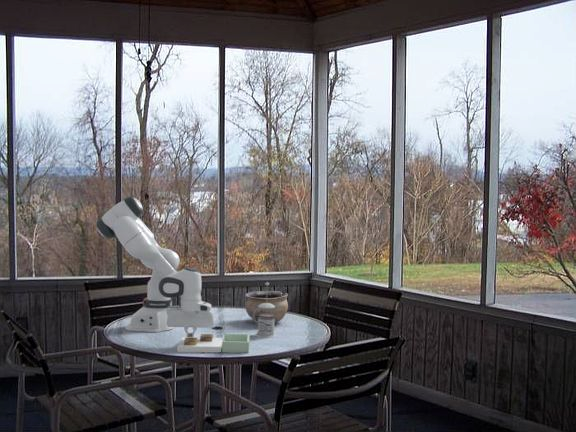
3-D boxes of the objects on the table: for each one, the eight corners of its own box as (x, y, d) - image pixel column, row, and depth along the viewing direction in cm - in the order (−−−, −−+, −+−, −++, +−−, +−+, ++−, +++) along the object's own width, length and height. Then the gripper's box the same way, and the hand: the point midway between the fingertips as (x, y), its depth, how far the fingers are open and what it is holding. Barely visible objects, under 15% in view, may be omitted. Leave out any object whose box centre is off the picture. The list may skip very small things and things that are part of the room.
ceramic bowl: (294, 326, 324) (294, 296, 323) (252, 328, 316) (253, 298, 315) (278, 317, 344) (279, 289, 344) (239, 319, 336) (240, 290, 336)
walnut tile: (200, 341, 277) (200, 336, 277) (201, 338, 282) (201, 334, 282) (211, 341, 277) (211, 336, 277) (212, 338, 282) (212, 334, 282)
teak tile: (184, 345, 270) (184, 340, 270) (185, 342, 275) (185, 337, 275) (196, 345, 270) (196, 340, 270) (197, 342, 275) (197, 337, 275)
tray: (222, 352, 269) (222, 341, 269) (224, 343, 284) (224, 333, 284) (248, 352, 269) (248, 342, 269) (249, 344, 284) (249, 334, 284)
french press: (271, 338, 295) (273, 284, 294) (248, 336, 299) (249, 282, 298) (279, 334, 305) (280, 281, 304) (256, 331, 309) (258, 280, 308)
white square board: (177, 352, 268) (177, 346, 268) (182, 342, 284) (182, 337, 284) (220, 352, 268) (220, 346, 268) (223, 343, 284) (223, 337, 284)
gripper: (165, 306, 275) (165, 338, 276) (213, 307, 276) (212, 339, 276) (167, 303, 281) (167, 335, 282) (214, 304, 282) (214, 335, 283)
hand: (190, 337), depth 279 cm, fingers closed
